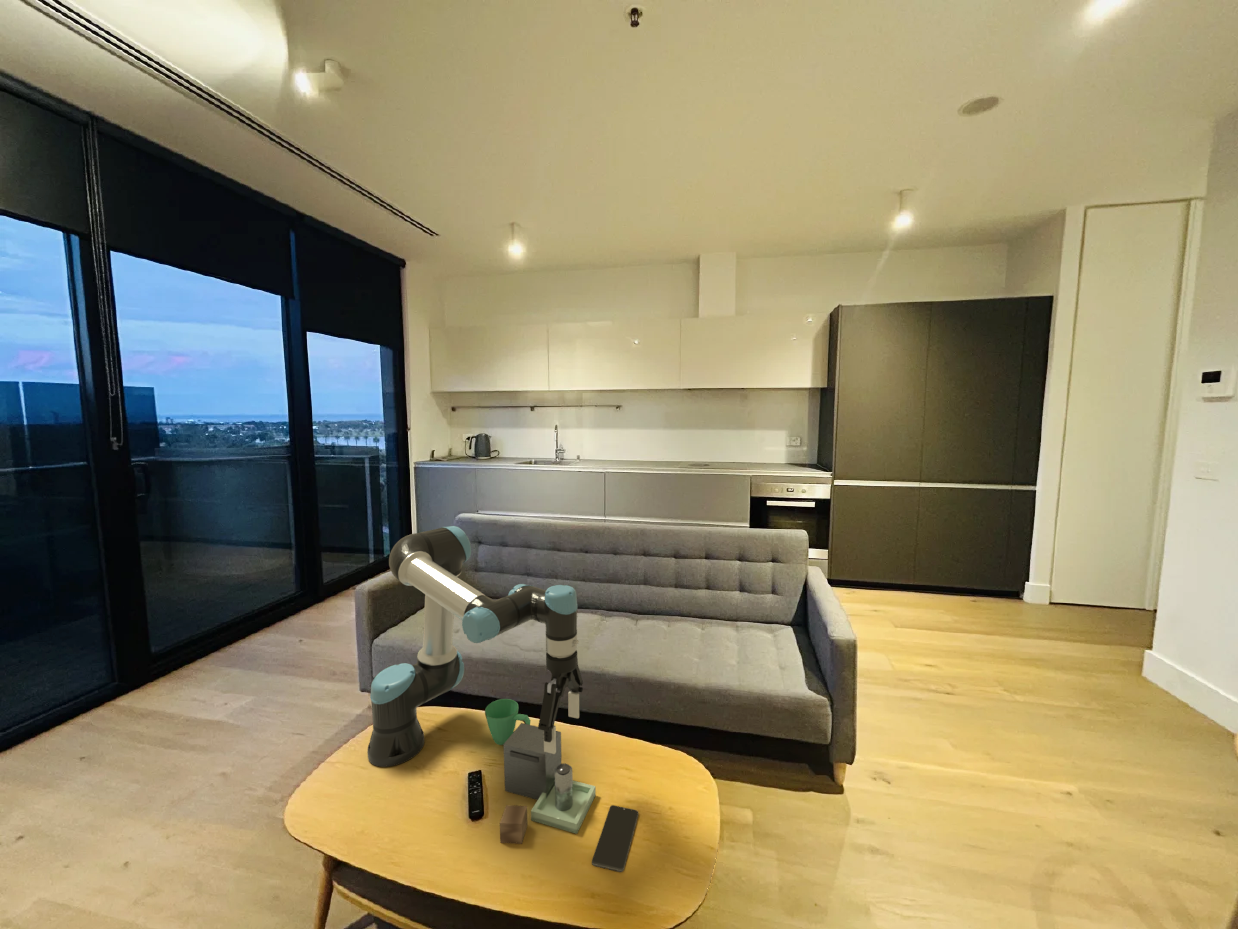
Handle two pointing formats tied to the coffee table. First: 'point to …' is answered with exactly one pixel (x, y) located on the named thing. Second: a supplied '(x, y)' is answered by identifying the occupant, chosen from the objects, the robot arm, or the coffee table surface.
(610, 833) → the smartphone
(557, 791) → the cartridge
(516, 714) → the mug
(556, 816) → the tray
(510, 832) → the walnut block
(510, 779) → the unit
